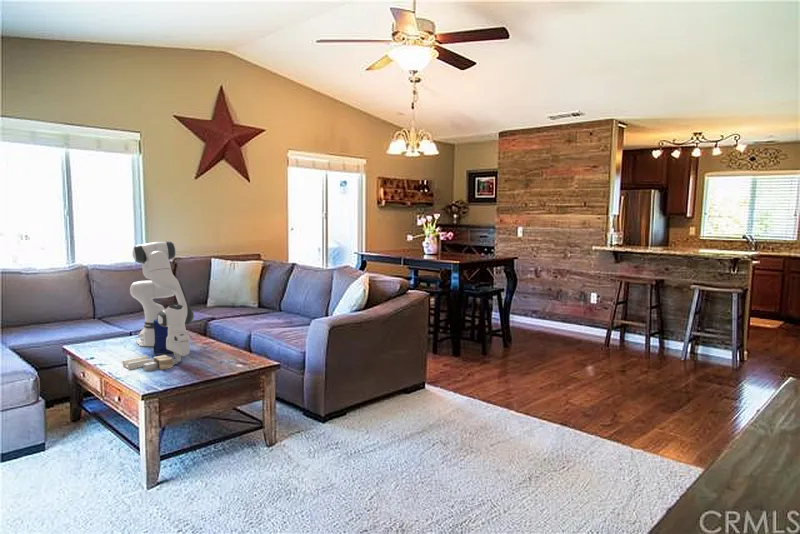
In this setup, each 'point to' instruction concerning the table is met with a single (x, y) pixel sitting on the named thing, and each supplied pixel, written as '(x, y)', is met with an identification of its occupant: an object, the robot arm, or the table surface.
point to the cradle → (136, 362)
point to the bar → (156, 365)
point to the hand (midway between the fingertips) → (177, 360)
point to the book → (160, 339)
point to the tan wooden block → (163, 361)
